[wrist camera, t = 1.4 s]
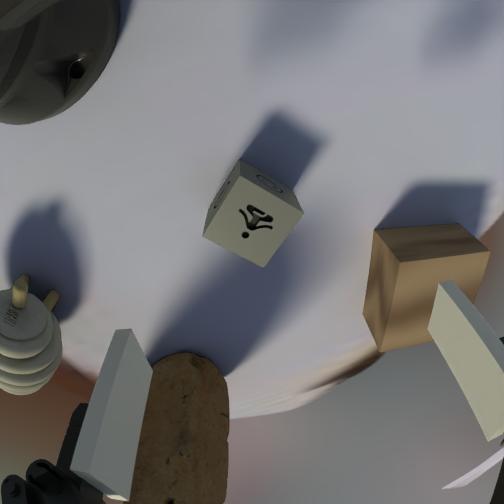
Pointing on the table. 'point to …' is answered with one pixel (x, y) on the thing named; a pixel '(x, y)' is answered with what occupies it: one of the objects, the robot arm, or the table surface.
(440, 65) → the table surface
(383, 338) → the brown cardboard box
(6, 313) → the cream beehive honey pot
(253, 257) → the dice cube
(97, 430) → the robot arm
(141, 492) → the brown oblong lump
